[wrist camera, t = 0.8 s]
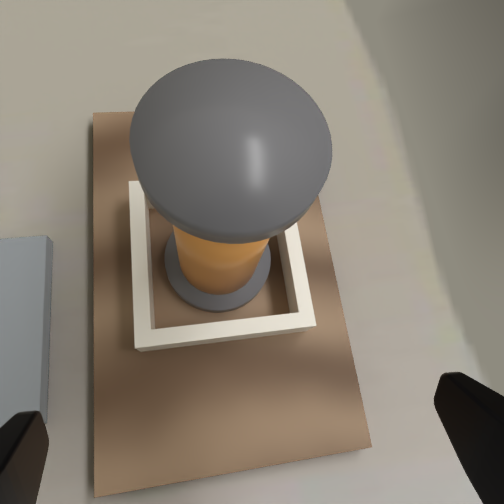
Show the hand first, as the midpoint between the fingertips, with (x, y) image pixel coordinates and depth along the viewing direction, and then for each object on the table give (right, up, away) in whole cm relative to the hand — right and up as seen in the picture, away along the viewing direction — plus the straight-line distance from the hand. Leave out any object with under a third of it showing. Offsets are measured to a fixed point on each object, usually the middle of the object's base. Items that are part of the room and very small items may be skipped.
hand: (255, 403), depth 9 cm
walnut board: (-2, +2, +15) cm, 15 cm away
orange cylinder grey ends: (-2, +3, +14) cm, 14 cm away
